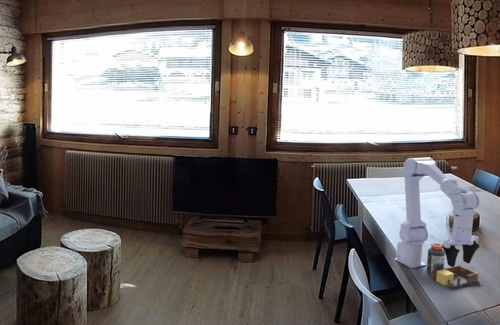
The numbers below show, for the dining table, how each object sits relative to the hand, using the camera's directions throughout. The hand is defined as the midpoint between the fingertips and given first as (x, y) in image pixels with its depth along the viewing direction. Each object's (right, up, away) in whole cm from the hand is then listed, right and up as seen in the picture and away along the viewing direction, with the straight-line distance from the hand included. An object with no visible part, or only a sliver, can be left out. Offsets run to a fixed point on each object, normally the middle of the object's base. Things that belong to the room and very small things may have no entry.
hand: (458, 264), depth 134 cm
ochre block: (-1, -9, +8) cm, 12 cm away
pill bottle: (0, -8, +17) cm, 19 cm away
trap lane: (+4, -9, +10) cm, 14 cm away
